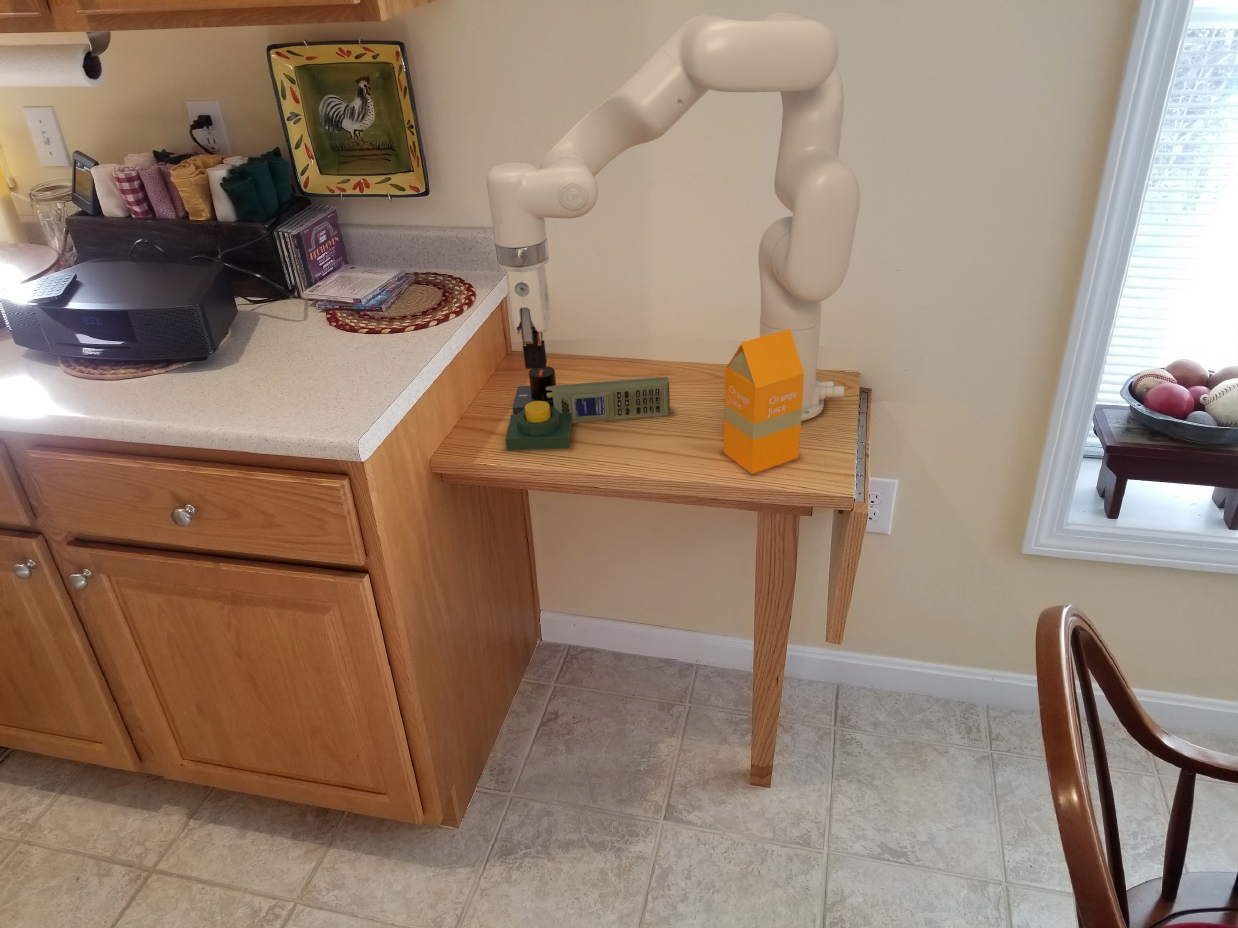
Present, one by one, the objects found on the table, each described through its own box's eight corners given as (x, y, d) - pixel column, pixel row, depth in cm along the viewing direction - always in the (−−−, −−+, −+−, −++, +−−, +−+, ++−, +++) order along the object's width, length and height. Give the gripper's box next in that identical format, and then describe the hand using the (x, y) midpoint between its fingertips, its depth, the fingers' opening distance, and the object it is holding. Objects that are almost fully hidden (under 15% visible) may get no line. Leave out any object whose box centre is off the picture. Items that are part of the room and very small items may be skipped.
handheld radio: (670, 418, 152) (521, 430, 151) (668, 410, 155) (522, 422, 154) (669, 382, 149) (517, 394, 148) (667, 374, 152) (518, 386, 151)
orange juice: (722, 452, 141) (724, 333, 131) (769, 436, 145) (774, 320, 134) (752, 474, 136) (756, 352, 125) (799, 458, 139) (807, 337, 128)
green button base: (572, 424, 152) (570, 402, 149) (569, 448, 145) (567, 426, 143) (512, 426, 152) (510, 405, 150) (507, 450, 145) (504, 428, 143)
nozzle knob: (532, 389, 157) (530, 364, 155) (558, 389, 157) (555, 363, 155) (529, 401, 154) (527, 375, 151) (555, 400, 153) (553, 375, 151)
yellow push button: (551, 411, 148) (550, 400, 147) (549, 423, 145) (548, 412, 144) (527, 412, 148) (525, 401, 147) (524, 424, 145) (523, 412, 144)
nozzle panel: (575, 395, 160) (574, 382, 159) (572, 419, 153) (571, 405, 152) (519, 397, 161) (517, 384, 159) (513, 421, 153) (512, 407, 152)
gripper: (543, 268, 126) (556, 386, 135) (551, 235, 138) (563, 345, 148) (489, 271, 126) (506, 389, 136) (503, 238, 139) (517, 347, 148)
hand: (536, 366), depth 142 cm, fingers closed
